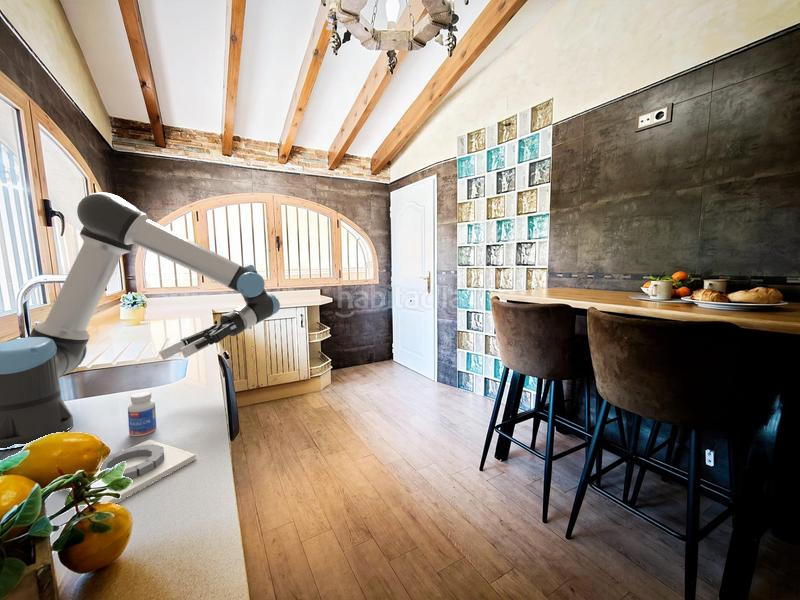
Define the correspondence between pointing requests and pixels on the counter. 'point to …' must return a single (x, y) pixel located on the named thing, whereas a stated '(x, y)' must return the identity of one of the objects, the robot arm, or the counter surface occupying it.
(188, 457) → the collar plate
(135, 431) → the pill bottle
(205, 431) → the counter surface
